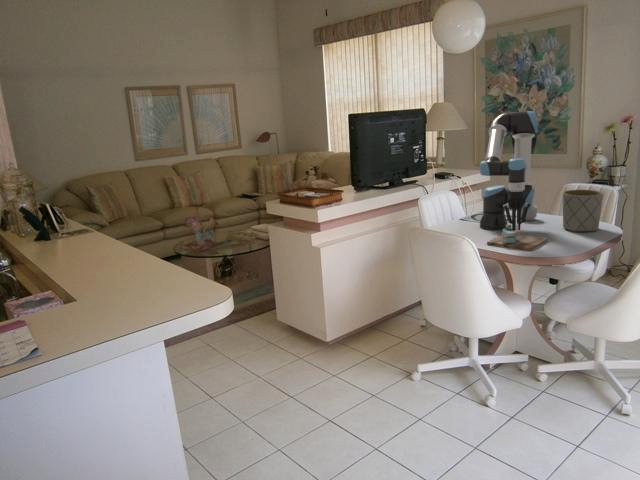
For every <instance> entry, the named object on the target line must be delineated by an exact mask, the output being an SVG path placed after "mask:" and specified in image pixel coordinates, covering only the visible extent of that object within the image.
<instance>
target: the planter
mask: <svg viewBox="0 0 640 480" xmlns="http://www.w3.org/2000/svg"><path fill="white" fill-rule="evenodd" d="M603 198H604V192H603V191H600V190H595V189H570V190H564V191H563V192H562V228H563V229H565V230H568V231H569V232H571V233H573V232H574V233H575V232H577V233H578V232H594V233H595V232H597V230H598V229H599V225H600V220H601V213H602V212H601V211H602V206H603V200H604V199H603Z"/></svg>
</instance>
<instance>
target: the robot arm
mask: <svg viewBox="0 0 640 480" xmlns="http://www.w3.org/2000/svg"><path fill="white" fill-rule="evenodd" d="M538 132H539V130H538V119H537V112H536V111H534V110H532V111H531V110H530V111H529V110H525V111H523V110H522V111H513V112H511V111H509V112H503V113H502V114H500V115H498V116H496V117H495V119H494V120H492V122H491V123H490V125H489V127H488V135H489V140H488V144H487V149H486V155H485V160H483V161H480V163H479V173H480V175H481V176H486V177H487V176H488V177H493V176H499V177H501V176H505V177H507V176H508V187H507V188H506V185H494V186H493V185H492V186H488V187H486V188H484V190H483V195H482V198H483V200H482V202H483V203H482V204H483V205H482V207H483V208H482V216H481V219H480V221H479V228H481V229H483V230H490V231H491V230H492V231H493V230H494V231H495V230H496V231H498V230H503V229H504V228H506V225H511V228H512V230H513V231H514V232H519V231H521V225H522V224H523V223H525V218H526V214H527V211H528V209H530V208H531V207H532V205H533V203H534V198H535V192H536V189H535V188H533V184H532V183H531V181H530V178H531V161H532V160H531V159H532V156H531V155H532V139H533V138H534V137H535V136H536V134H537V133H538ZM507 134H509V135H510V134H511V135H512V138H513V139H514V150H513V151H514V152H513V153H514V154H513V158H510V159H509V160H502V153H503V147H504V140H505V137H506V136H507ZM510 210H511V212H510ZM521 210H523V213H522V217H521ZM508 223H509V224H508ZM515 237H518V236H515Z"/></svg>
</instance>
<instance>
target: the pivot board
mask: <svg viewBox="0 0 640 480" xmlns="http://www.w3.org/2000/svg"><path fill="white" fill-rule="evenodd" d="M511 228H512V224H508V225H506V229H508V230H510V229H511ZM507 236H518V237H515V238H516V242H515V243H507ZM548 241H549V238H548V237H541V236H532V235H526V234H525V235H524V234H520V232H519V231H518V232H503V231H502V232H501V234H500V235H499V236H496V237H494V238H493V239H490V240H489V241H487V242H486V245H488V246H494V247H500V248H507V249H513V250H520V251H525V252H526V251H528V252H532V251H534V250H535V249H536V248H538V247H540V246H542V245H544V244H546V243H547V242H548Z"/></svg>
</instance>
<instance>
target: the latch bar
mask: <svg viewBox="0 0 640 480" xmlns="http://www.w3.org/2000/svg"><path fill="white" fill-rule="evenodd" d="M502 232H514V231H513V230H512V227H511V229H510V230H508V229H506V228H504V229H502ZM515 242H516V238H515V236H507V243H515Z"/></svg>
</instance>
